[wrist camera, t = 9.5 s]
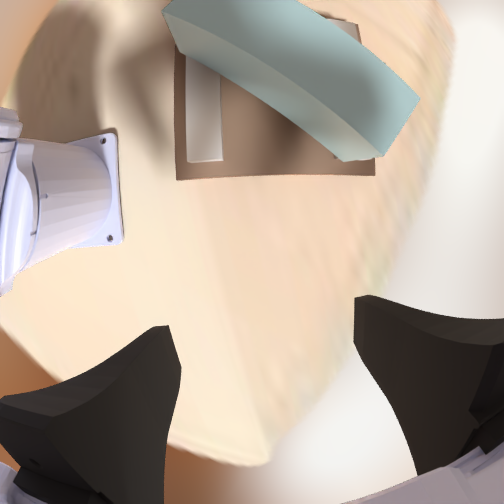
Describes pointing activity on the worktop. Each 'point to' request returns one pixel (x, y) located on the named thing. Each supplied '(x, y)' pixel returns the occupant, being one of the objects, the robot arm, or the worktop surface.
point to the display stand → (244, 130)
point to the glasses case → (298, 69)
